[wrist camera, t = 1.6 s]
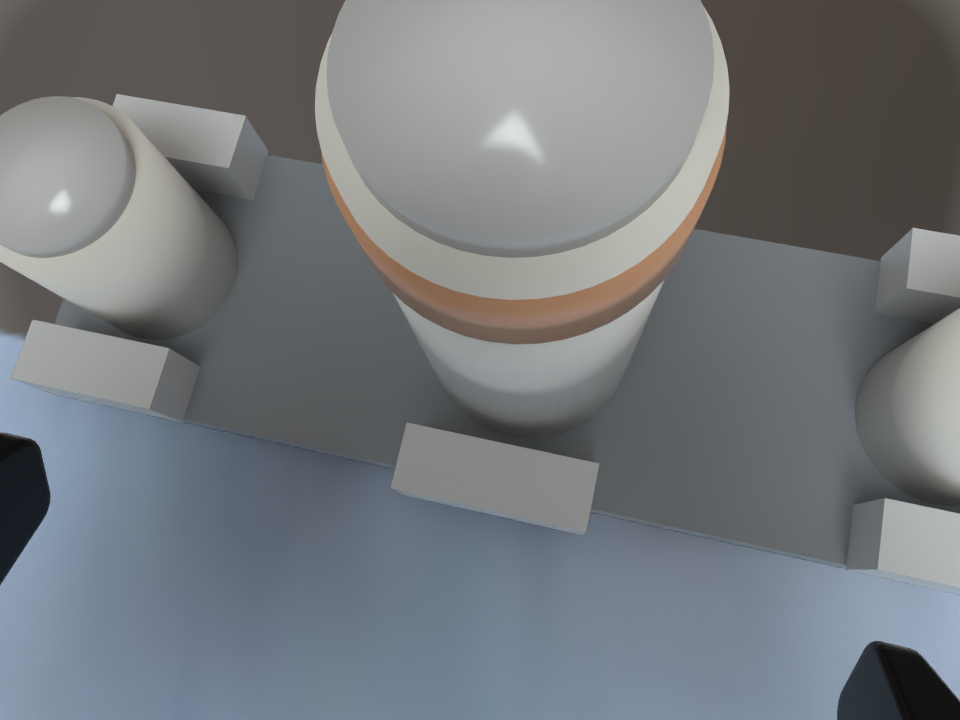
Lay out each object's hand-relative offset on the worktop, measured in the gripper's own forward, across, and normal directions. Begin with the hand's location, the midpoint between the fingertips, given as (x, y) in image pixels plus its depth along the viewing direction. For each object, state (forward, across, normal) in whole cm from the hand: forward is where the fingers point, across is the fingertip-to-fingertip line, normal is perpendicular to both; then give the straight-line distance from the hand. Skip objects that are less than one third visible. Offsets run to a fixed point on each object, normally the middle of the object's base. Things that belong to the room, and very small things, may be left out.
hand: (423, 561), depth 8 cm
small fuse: (+12, +10, +4) cm, 16 cm away
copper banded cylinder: (+12, 0, +4) cm, 12 cm away
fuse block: (+12, 0, +4) cm, 13 cm away
